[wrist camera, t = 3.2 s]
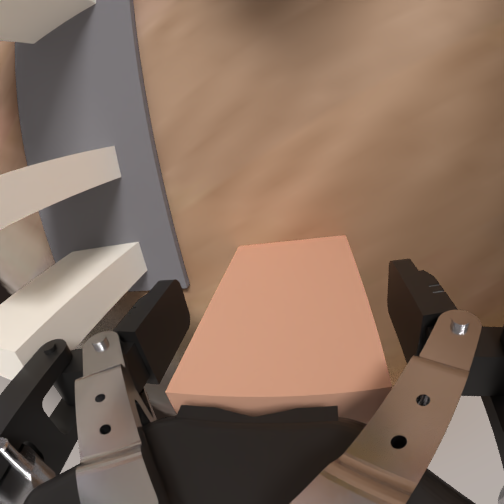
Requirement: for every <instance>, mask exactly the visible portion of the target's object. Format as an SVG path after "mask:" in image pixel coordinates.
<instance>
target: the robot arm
mask: <svg viewBox="0 0 504 504" xmlns="http://www.w3.org/2000/svg"><path fill="white" fill-rule="evenodd" d="M387 303H388V311H389V315H390V318H391V320H392V323H393V326H394V328H395V331H396V334H397V336H398V339H399V342H400V345H401V347H402V350H403V353H404V356H405V359H406V362H407V366H406V367H405V369H404V371H403V372H402V374H401V375H400V377H399V379H398V380H397V382H396V383H395V385H394V386H393V388H392V389H391V391H390V392H389V394H388V395H387V397H386V398H385V400H384V401H383V403H382V404H381V406H380V407H379V408H378V410H377V411H376V413H375V414H374V415H373V417H372V418H371V420H370V421H369V422H368V424H365V423H363V422H360V421H357V420H353V419H349V418H343V417H338V406H326V407H310V408H295V409H291V410H286V411H282V412H277V413H272V414H267V415H262V416H256V417H252V416H247V415H243V414H239V413H235V412H231V411H227V410H224V409H220V408H216V407H202V406H190V405H181V406H180V409H179V411H178V414H177V415H176V416H170V417H165V418H161V419H158V420H157V419H156V417H155V414H154V411H153V408H152V406H151V403H150V400H149V397H148V394H147V392H146V390H145V388H144V386H145V384H146V383H150V384H160V382H161V380H162V378H163V376H164V374H165V372H166V370H167V368H168V366H169V364H170V362H171V361H172V359H173V357H174V355H175V353H176V351H177V349H178V347H179V345H180V343H181V342H182V340H183V338H184V336H185V334H186V332H187V330H188V328H189V325H190V314H189V311H188V307H187V304H186V301H185V297H184V294H183V291H182V287H181V284H180V282H179V281H178V280H176V279H174V280H160V281H158V282H157V283H156V284H155V285H154V287H153V288H152V289H151V290H150V291H149V293H148V294H146V295H145V296H143V297H142V298H140V299H139V300H138V301H137V302H136V303H135V305H134V306H133V308H131V309H130V311H129V312H128V314H126V315H125V317H124V318H123V319H122V320H121V321H120V323H119V324H118V325H117V326H116V327H115V329H114V330H113V331H103V332H100V333H97V334H95V335H93V336H91V337H90V338H89V339H88V340H87V341H86V342H85V343H84V345H83V348H82V349H76V350H70V349H69V347H68V345H67V343H66V342H65V340H63V339H54V340H51V341H49V342H47V343H45V344H44V345H42V346H41V347H40V348H39V349H38V351H37V352H36V353H35V354H34V355H33V356H32V357H31V359H30V360H29V361H28V362H27V363H26V364H25V365H24V367H23V368H22V369H21V370H20V371H19V373H18V374H17V375H16V376H15V377H14V379H13V380H12V381H11V382H10V384H9V385H8V386H7V387H6V389H5V390H4V391H3V392H2V393H1V395H0V504H475V503H474V502H472V501H471V500H470V499H468V498H467V497H465V496H464V495H462V494H461V493H460V492H458V491H457V490H456V489H454V488H453V487H451V486H450V485H449V484H447V483H446V482H444V481H443V480H442V479H441V478H439V477H438V476H436V475H435V474H434V473H433V472H431V471H430V470H428V469H427V467H428V465H429V464H430V462H431V460H432V458H433V456H434V454H435V452H436V450H437V448H438V446H439V444H440V442H441V440H442V438H443V436H444V434H445V432H446V430H447V428H448V425H449V423H450V421H451V419H452V416H453V414H454V411H455V409H456V407H457V404H458V402H459V399H460V397H461V396H481V398H482V401H483V403H484V406H485V409H486V412H487V414H488V417H489V421H490V424H491V427H492V429H493V432H494V436H495V439H496V442H497V446H498V450H499V453H500V457H501V461H502V464H503V468H504V326H503V327H483V326H482V325H481V322H480V320H479V319H478V317H477V316H475V315H474V314H472V313H470V312H468V311H464V310H458V309H457V308H456V306H455V305H454V304H453V302H452V301H451V299H450V298H449V296H448V295H447V294H446V292H444V289H443V288H442V287H441V285H439V283H438V281H437V280H436V279H435V277H434V276H432V275H431V274H429V273H427V272H426V271H424V270H422V271H418V269H417V268H416V267H415V265H414V264H413V262H412V261H411V260H410V259H403V260H393V261H390V263H389V276H388V298H387ZM52 385H54V387H55V388H56V389H57V391H58V392H59V394H60V395H61V397H62V399H61V401H60V402H59V404H58V405H57V407H56V408H55V410H54V411H53V413H52V414H51V416H50V417H48V416H47V414H46V413H45V412H44V410H43V408H42V401H43V398H44V397H45V395H46V394H47V392H48V391H49V390H50V388H51V387H52ZM77 440H78V443H79V450H80V459H81V461H80V464H78V465H76V466H75V467H73V468H71V469H69V470H67V471H65V472H64V473H61V474H60V472H61V470H62V468H63V466H64V464H65V462H66V461H67V459H68V457H69V455H70V453H71V451H72V449H73V447H74V445H75V443H76V442H77ZM59 474H60V475H59ZM498 504H504V486H503V488H502V490H501V492H500V495H499V498H498Z"/></svg>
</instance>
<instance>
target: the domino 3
mask: <svg viewBox="0 0 504 504" xmlns="http://www.w3.org/2000/svg"><path fill="white" fill-rule="evenodd" d="M146 271H147V267H146V264H145V261H144V258H143V254H142V251H141V248H140V244H139V242H133V243H126V244H119V245H113V246H106V247H99V248H93V249H86V250H80V251H73V252H71V253H70V254H68V255H67V256H65V257H64V258H62V259H61V260H60V261H58V262H57V263H55V264H54V265H52V266H51V267H50V268H48V269H47V270H45V271H44V272H43V273H41V274H40V275H38V276H37V277H36V278H34V279H33V280H32V281H30V282H29V283H28V284H26V285H25V286H24V287H22V288H21V289H20V290H18V291H17V292H16V293H14V294H13V295H12V296H11V297H9V298H8V299H7V300H5V301H4V302H3V303H2V304H0V376H2V377H4V378H7V379H9V380H13V379H14V377H15V376H16V375H17V374H18V373H19V371H20V370H21V369H22V368H23V367H24V365H25V364H26V363H27V362H28V361H29V360H30V359H31V357H32V356H33V355H34V354H35V353H36V352H37V351H38V349H39V348H40V347H41V346H42V345H44V344H45V343H47V342H49V341H51V340H54V339H63V340H65V342H66V343H67V345H68V347H69V349H70V350H74V349H75V348H76V347H77V346H78V345H79V343H80V342H81V341H82V340H83V339H84V338H85V337H86V336H87V334H88V333H89V332H90V331H91V330H92V329H93V328H94V327H95V325H96V324H97V323H98V322H99V321H100V320H101V319H102V318H103V317H104V316H105V314H106V313H107V312H108V311H109V310H110V309H111V308H112V307H113V306H114V305H115V304H116V303H117V302H118V300H119V299H120V298H121V297H122V296H123V295H124V294H125V293H126V292H127V291H128V290H129V289H130V288H131V287H132V286H133V285H134V284H135V282H136V281H137V280H138V279H139V278H140V277H141V276H142V275H143V274H144V273H145V272H146Z"/></svg>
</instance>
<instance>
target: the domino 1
mask: <svg viewBox="0 0 504 504" xmlns="http://www.w3.org/2000/svg"><path fill="white" fill-rule="evenodd" d="M94 4H96V0H0V41H12V42H22V43H31V44H34V43H36V42H37V41H38V40H40V39H41V38H42V37H44V36H45V35H47V34H48V33H49V32H51V31H52V30H54V29H55V28H57V27H58V26H60V25H61V24H63V23H64V22H66V21H67V20H69V19H71V18H72V17H74V16H75V15H77V14H79V13H80V12H82V11H84V10H85V9H87V8H89V7H91V6H92V5H94Z"/></svg>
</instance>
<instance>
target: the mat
mask: <svg viewBox="0 0 504 504" xmlns="http://www.w3.org/2000/svg"><path fill="white" fill-rule="evenodd" d="M15 72H16V88H17V100H18V110H19V118H20V125H21V132H22V139H23V145H24V150H25V156H26V161H27V166H30V165H34V164H37V163H41V162H45V161H49V160H52V159H56V158H60V157H64V156H68V155H73V154H77V153H81V152H86V151H91V150H95V149H100V148H105V147H110V146H115V150H116V155H117V160H118V164H119V169H120V173H121V177H120V178H117V179H114V180H112V181H109V182H106V183H104V184H101V185H99V186H96V187H93V188H91V189H88V190H86V191H83V192H81V193H78V194H76V195H74V196H71V197H69V198H66V199H64V200H62V201H59V202H57V203H55V204H53V205H50V206H48V207H46V208H44V209H42V210H39V214H40V217H41V221H42V224H43V227H44V231H45V234H46V237H47V240H48V243H49V246H50V249H51V252H52V254H53V257H54V260H55V263H57V262H58V261H60V260H61V259H62V258H64V257H65V256H67V255H68V254H70V253H71V252H73V251H80V250H86V249H93V248H99V247H106V246H113V245H119V244H126V243H133V242H139V244H140V248H141V251H142V254H143V258H144V261H145V264H146V267H147V271H146V272H145V273H144V274H143V275H142V276H141V277H140V278H139V279H138V280H137V281H136V282H135V284H134V285H133V286H132V287H131V288H130V289H129V290H128V291H147V290H151V289H152V288H153V287H154V285H155V284H156V283H157V282H158V281H160V280H174V279H176V280H178V281H179V282H180V284H181V287H182V288H188V286H189V285H190V284H189V280H188V277H187V273H186V269H185V266H184V262H183V259H182V255H181V251H180V248H179V244H178V240H177V236H176V232H175V228H174V224H173V221H172V217H171V212H170V208H169V204H168V200H167V196H166V192H165V187H164V183H163V179H162V174H161V170H160V165H159V160H158V156H157V151H156V146H155V141H154V136H153V131H152V126H151V121H150V115H149V110H148V104H147V99H146V93H145V87H144V81H143V75H142V68H141V61H140V54H139V47H138V40H137V32H136V24H135V15H134V6H133V0H96V4H94V5H92V6H91V7H89V8H87V9H85V10H84V11H82V12H80V13H79V14H77V15H75V16H74V17H72V18H71V19H69V20H67V21H66V22H64V23H63V24H61V25H60V26H58V27H57V28H55V29H54V30H52V31H51V32H49V33H48V34H47V35H45V36H44V37H42V38H41V39H40V40H38V41H37V42H36V43H34V44H31V43H22V42H15Z"/></svg>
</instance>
